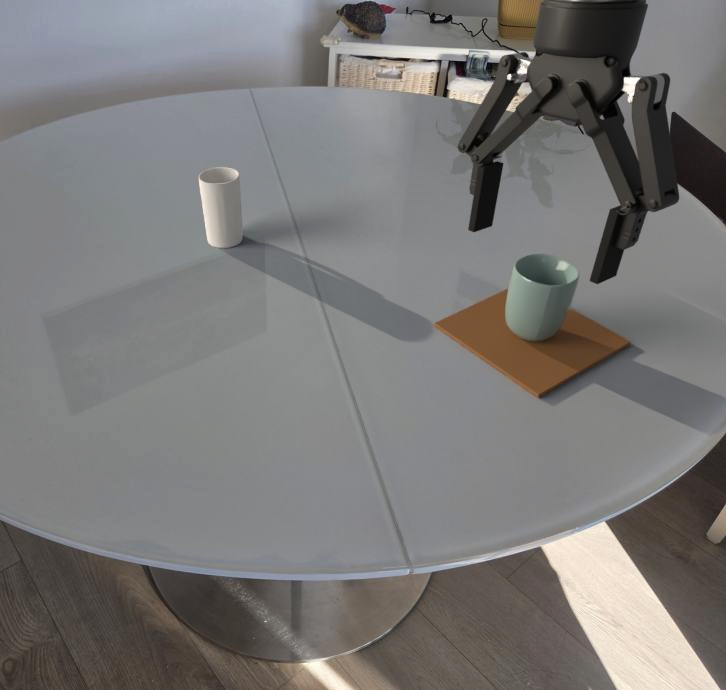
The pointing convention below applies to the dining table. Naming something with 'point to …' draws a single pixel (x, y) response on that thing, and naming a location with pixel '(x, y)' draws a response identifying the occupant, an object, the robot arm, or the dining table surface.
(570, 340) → the cork mat
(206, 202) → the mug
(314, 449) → the dining table surface
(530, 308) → the cup
